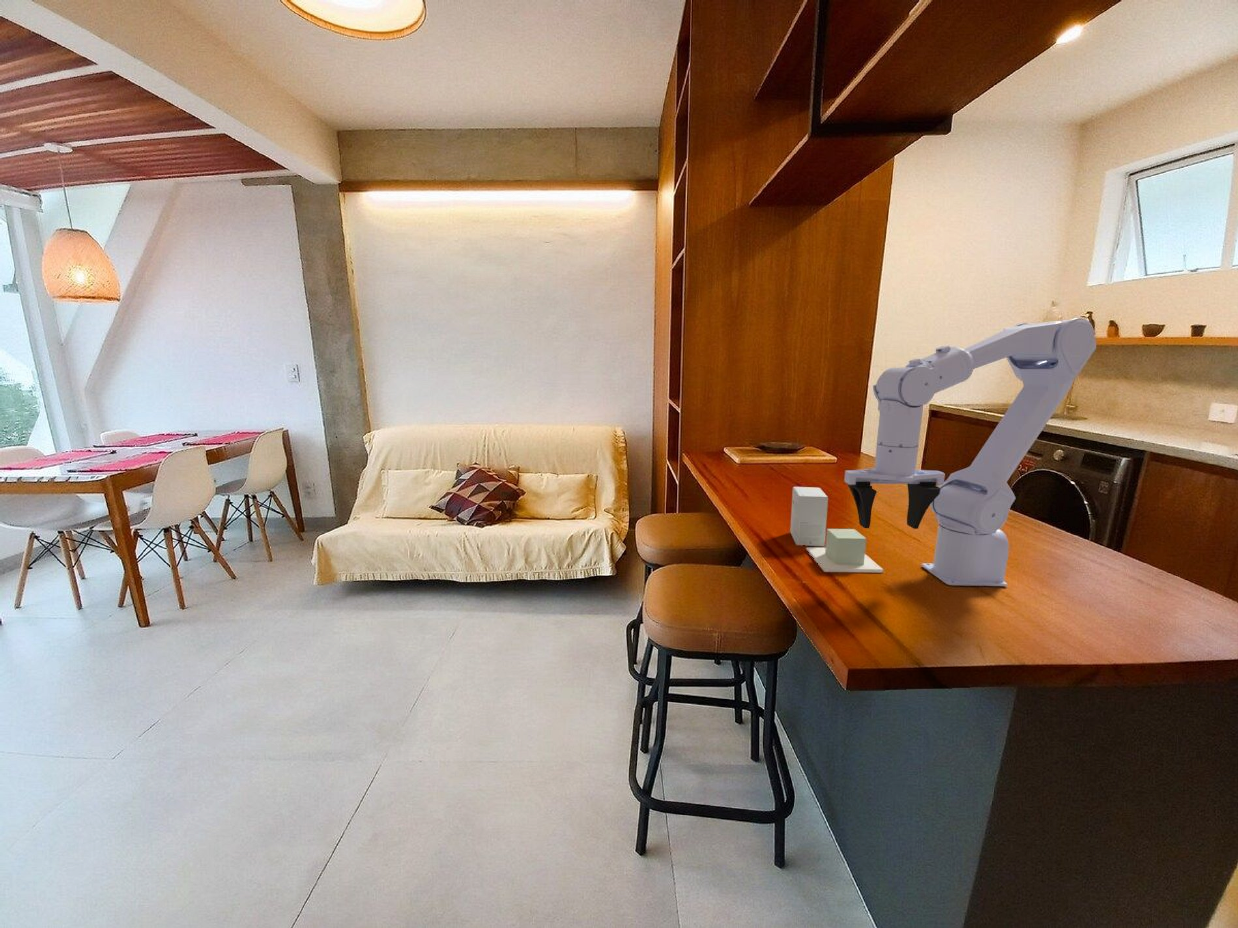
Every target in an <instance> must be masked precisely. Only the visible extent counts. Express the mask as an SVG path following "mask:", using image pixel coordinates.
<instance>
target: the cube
mask: <svg viewBox="0 0 1238 928" xmlns="http://www.w3.org/2000/svg"><path fill="white" fill-rule="evenodd" d="M866 546H867V538H866V537H865V536H864V535H862V534H861V533H860V532H859V531H858V530H856V529H855V528H826V536H825V548H826V549H825V554H826V555H827V556H828V557H829V558H830V559H831V561H832V562H833V563H834V564H838V565H864V557H865V554H866V548H867V547H866Z"/></svg>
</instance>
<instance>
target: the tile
mask: <svg viewBox="0 0 1238 928" xmlns="http://www.w3.org/2000/svg"><path fill="white" fill-rule="evenodd" d="M805 547H806V548H805V550H807V551H808V552H809V553H808V552H807V551H806V552H807V553H808V554H809V556H810V557H811V556H812V557H813V558H814V559H813V558H812V557H811V558H812V559H813V560H814V562H815V563H816V564H817V563H818V564H817V565H818V566H819V567H820V568H821V570H822V571H823V572H824V573H879V574H881V573H884V569H883V568H882V567H881V566H880V565H878V564H877V563H876V562H875V561H874V560H873V559H872V558H871V557H870V556H868V555H867V554H866V553H865V557H864V565H838V564H834V563H833V562H832V561H831V559H830V558H829V557H828V556H827V555H826V554H825V549H826V547H816V546H809V547H808V546H805Z"/></svg>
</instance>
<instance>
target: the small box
mask: <svg viewBox="0 0 1238 928" xmlns="http://www.w3.org/2000/svg"><path fill="white" fill-rule="evenodd" d="M828 504H829V496H828V495H826V493H825V492H824V491H823V490H822V488H821V487H811V486H810V487H807V486H793V487H792V496H791V513H790V514H791V515H790V530H789V531H790V532H789V533H790V534H791V536H792V537H791V538H792V539H793V541H794V543H795V546H803V545H805V547H808V546H809V547H826V535H827V518H828V517H827V516H828Z"/></svg>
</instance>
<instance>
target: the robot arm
mask: <svg viewBox="0 0 1238 928" xmlns="http://www.w3.org/2000/svg"><path fill="white" fill-rule="evenodd" d="M1096 349H1097V341H1096V335H1095V329H1094V326H1093V324H1092V323H1091V322H1090V321H1089V320H1088V319H1086V318H1083V317H1076V318H1072V319H1064V320H1058V321H1057V320H1055V321H1043V322H1034V323H1033V322H1032V323H1027V322H1022V323H1016V324H1015V325H1013V326H1007V327H1005V328H1003V330H1002V331H1000V332H998V333H995V334H993V335H991V336H989V337H987V338H985V339H983V340H981V341H979V342H977V343H974V344H972V345H970V346H968V347H966V348H964V349H963V348H960V347H957V346H950V345H945V346H943V345H942V346H939V347H936V348H935V353H932V354H930V355H928V356H925V357H923V358H912V359H911V360H909V361H908V364H907V365H906V366H905V367H903V366H902V367H900V366H898V367H895V366H894V367H890V368H888V369H886V370H884V371H883V372H882V374H880V376H879V377H878V379H877V381H876V384H874V385H872V390H873V392H872V393H873V395H874V396H875V397H874V398H875V399H876V401H877V403H878V405H877V406H878V407H877V410H878V411H879V417H878V418H879V419H878V426H877V427H878V428H877V437H876V438H877V439H876V445H875V446H876V448H875V455H874V456H875V457H874V468H866V469H853V470H850V469H849V470H845V471H844V481H843V482H845V483H846V484H847V485H848V486H847V487H848V488H849V491H850V492H851V494H852V497H853V499H854V502H855V507H856V510H857V514H858V524H859V525H860V526H861V527H862V528H864V529H870V527H871V519H872V509H873V506H874V501H875V498H876V495H877V490H876V489H874V488H873V485H871V484H874V485H876V484H877V485H879V484H880V485H881V484H882V485H884V484H887V485H888V484H890V485H893V484H894V485H903V484H904V485H907V491H908V492H907V494H908V506H907V507H908V508H907V514H906V525H907V526H908V527H910V528H912V529H913V530H915V529H919V527H920V524H921V522H922V520H923V518H924V515H925V514H926V512H927V510H928V509H929V507H930V509H931V511H932V513H933V514H935V515H936V518H935V521H937V523H938V527H937V535H936V543H935V551H934V558H933V563H929V562H927V563H924V562H923V563H921V567H922V568H924V569H925V570H927V571H928V572H929V573H930V574H932V575H933V576H935V577H936V578H938V580H941V581H942V582H943V583H944V584H946V585H948V586H969V587H970V586H971V587H972V586H973V587H974V586H975V587H984V586H985V587H1007V586H1008V583H1007V582H1006V581H1005V575H1006V570H1007V563H1008V557H1009V551H1010V544H1009V539H1008V536H1007V535H1006V533H1005V532H1004V531H1003V530H1001V528H1002V527H1003V526H1004V525H1005V524H1006V521H1007V519H1008V517H1009V513H1010V509H1011V506H1012V505H1013V503H1014V502H1015V500H1016V499H1017V498H1016V496H1015V493H1014V492H1013V490H1012V489H1011V487H1010V485H1009V484H1008V481H1009V479H1010V478H1011V476H1012V475H1013V473H1014V472H1015V471H1016V469H1017V468H1018V466H1019V465H1020V463H1021V462H1022V460H1023V459H1024V458H1025V456H1026V455H1027V453H1028V451H1029V450H1030V449H1031V447H1032V446H1033V444H1034V443H1035V441H1036V440H1037V439H1038V437H1039V435H1040V434H1041V433H1042V431H1043V429H1044V428H1045V427H1046V426H1047V424H1048V422H1049V421H1050V420H1051V418H1052V416H1053V415H1054V414H1055V412H1056V410H1057V409H1058V407H1059V406H1060V405H1061V404H1062V402H1063V401H1064V399H1065V398H1066V396H1067V394H1068V393H1069V391H1071V390H1070V389H1071V388H1072V385H1073V383H1074V380H1075V379H1076V378H1077V377H1078V375H1079V374H1080V372H1081V371H1082V369H1083V368H1084V367H1085V365H1086V364H1087V362H1088V361H1089V359H1090V357H1091V356H1092V354H1093V353H1094V352H1095V350H1096ZM1003 359H1006V360H1007V362H1008V365H1009V366H1010V368H1011V369H1012V372H1013V373H1014V375H1015V377H1016V378H1017V379H1018V380H1020V381H1021V382H1022V388H1021V390H1020V391H1019V393H1018V394H1017V396H1016V398H1015V399H1014V400H1013V402H1012V403H1011V405H1010V406H1008V407H1009V408H1008V409H1007V410H1006V412H1004V413H1005V414H1004V415H1003V417H1002V418H1001V420H1000V421H999V422H998V423H997V425H996V427H995V429H994V430H993V431H992V433H991V434H990V435H989V437H988V439H987V440H986V441H985V443H984V445H983V446H982V447H981V449H980V451H979V452H978V453H977V455H976V456H975V458H974V460H973V461H972V462H971V464H970V466H968V467H966V468H963V469H960V470H957V471H954V472H952V473H950V474H949V476H948V478H947V479H946V480H945V477H946V474H945V473H944V472H942V471H939V470H929V469H928V470H926V469H917V462H918V461H917V460H918V453H919V452H918V451H919V443H920V436H921V427H922V426H921V425H922V418H923V411H924V406H925V405H928V403H930V402H931V400H932V399H933V398H934V396H935V394H937V393H940V392H942V391H944V390H947V389H948V388H951V387H952V388H953V387H954V386H956V385H958V384H960V383H961V384H962V383H963V382H966V381H967V380H969V379H970V378H971V376H972V374H973V371H974V370H975V369H977V368H980V367H983V366H986V365H989V364H991V363H994V362H997V361H1000V360H1003Z"/></svg>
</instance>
